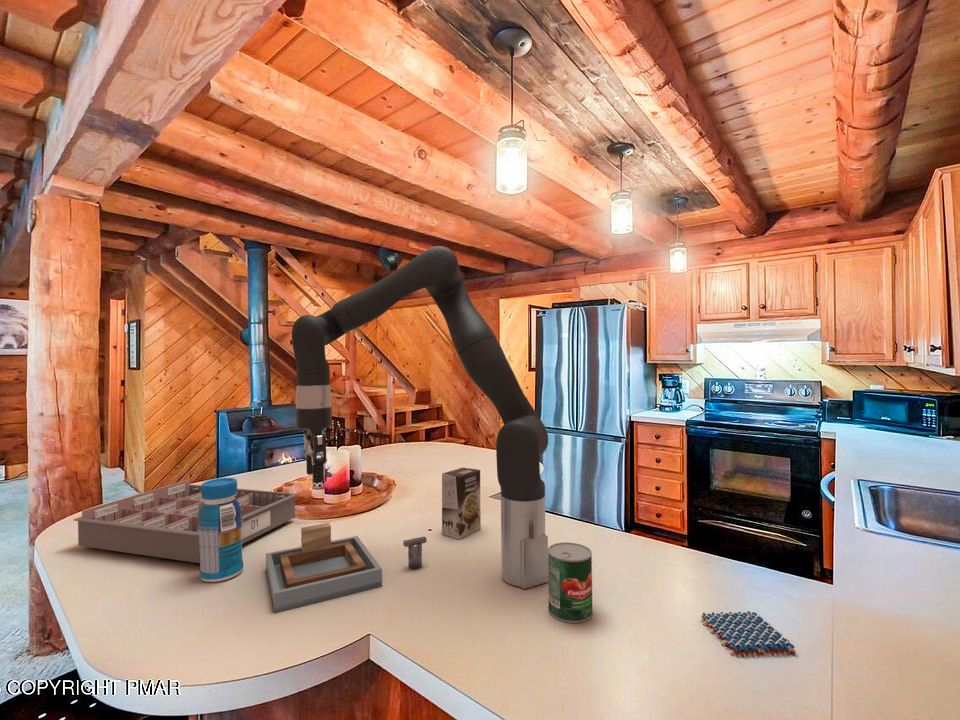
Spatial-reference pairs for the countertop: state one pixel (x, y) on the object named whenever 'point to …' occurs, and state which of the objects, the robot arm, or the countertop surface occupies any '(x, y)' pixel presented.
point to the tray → (323, 588)
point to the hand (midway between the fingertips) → (315, 478)
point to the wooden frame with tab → (319, 556)
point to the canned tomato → (570, 582)
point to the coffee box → (461, 502)
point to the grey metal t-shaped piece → (415, 552)
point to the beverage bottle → (220, 531)
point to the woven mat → (747, 634)
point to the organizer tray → (174, 520)
